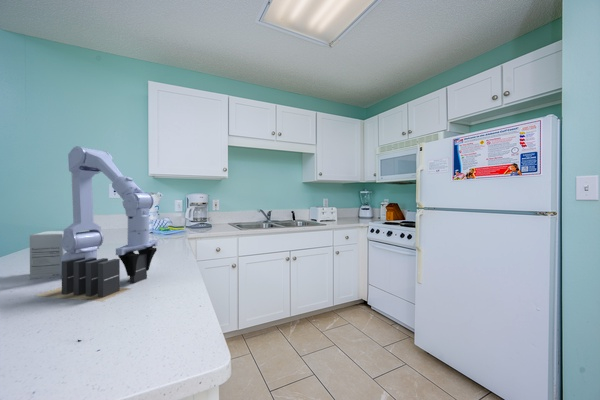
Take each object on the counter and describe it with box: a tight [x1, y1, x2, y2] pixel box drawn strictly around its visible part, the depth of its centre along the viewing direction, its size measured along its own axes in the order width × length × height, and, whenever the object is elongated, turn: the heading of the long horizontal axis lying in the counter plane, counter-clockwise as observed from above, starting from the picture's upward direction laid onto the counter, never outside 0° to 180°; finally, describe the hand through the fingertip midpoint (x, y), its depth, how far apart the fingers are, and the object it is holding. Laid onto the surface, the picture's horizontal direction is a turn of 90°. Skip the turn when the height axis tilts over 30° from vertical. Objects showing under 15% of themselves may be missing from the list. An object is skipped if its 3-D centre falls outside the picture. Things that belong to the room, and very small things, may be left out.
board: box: [34, 286, 132, 302], centre depth 69 cm, size 21×9×1 cm, turn 81°
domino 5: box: [129, 254, 148, 284], centre depth 79 cm, size 2×5×9 cm, turn 171°
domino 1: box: [61, 257, 85, 295], centre depth 70 cm, size 2×5×9 cm, turn 171°
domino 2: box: [74, 257, 98, 296], centre depth 69 cm, size 2×5×9 cm, turn 171°
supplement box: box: [29, 230, 67, 280], centre depth 88 cm, size 9×9×15 cm
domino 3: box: [86, 257, 109, 297], centre depth 69 cm, size 2×5×9 cm, turn 172°
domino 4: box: [98, 258, 121, 298], centre depth 68 cm, size 2×5×9 cm, turn 171°
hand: (138, 273), depth 79 cm, fingers closed on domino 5, 5 cm apart
